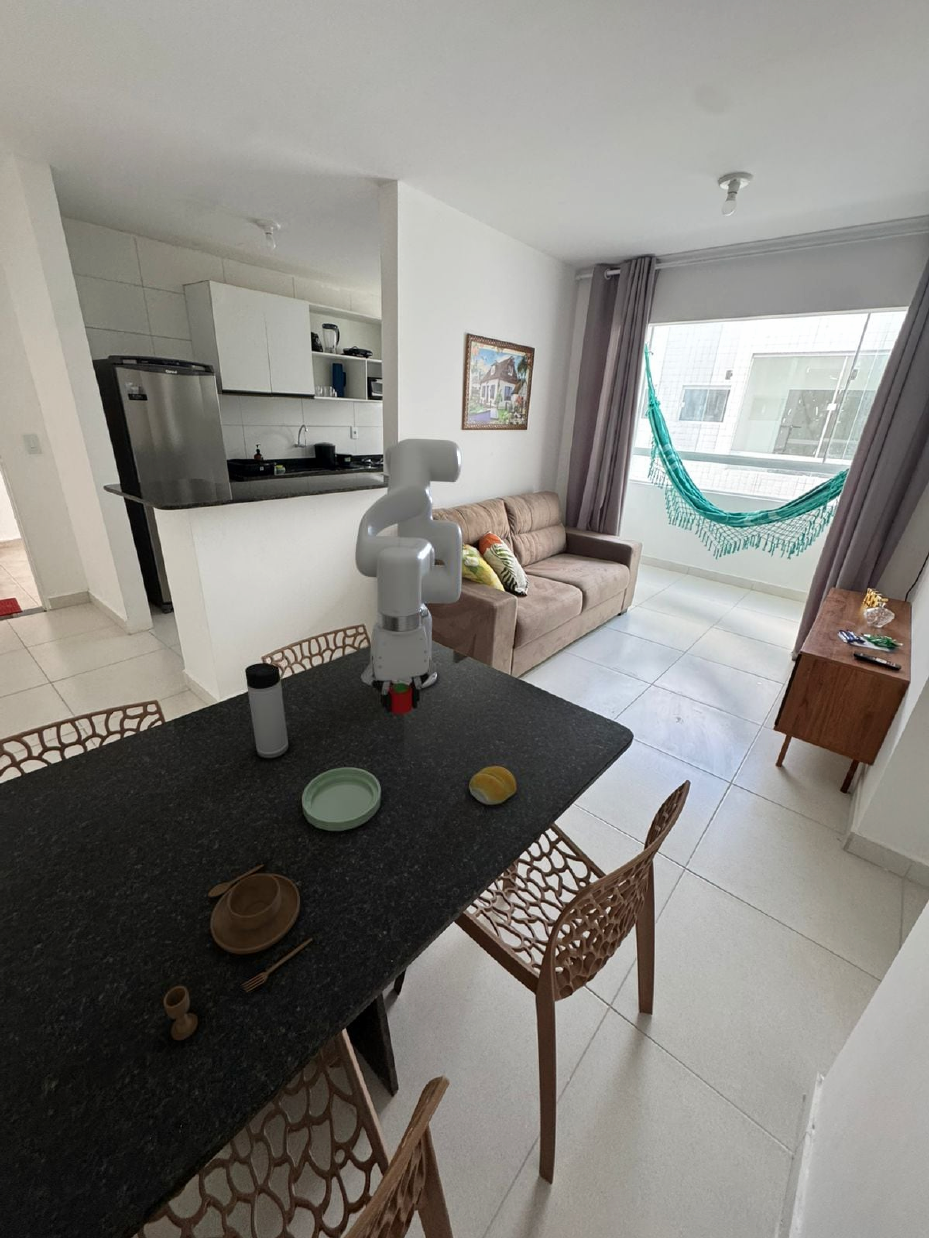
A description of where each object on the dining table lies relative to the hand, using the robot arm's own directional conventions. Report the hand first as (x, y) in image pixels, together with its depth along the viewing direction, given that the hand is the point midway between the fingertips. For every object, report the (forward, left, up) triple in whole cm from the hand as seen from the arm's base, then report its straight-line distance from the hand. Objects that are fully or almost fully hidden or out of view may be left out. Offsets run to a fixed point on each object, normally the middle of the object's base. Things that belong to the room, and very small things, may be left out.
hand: (400, 705), depth 97 cm
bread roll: (+10, +16, -16) cm, 25 cm away
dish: (+5, -12, -16) cm, 21 cm away
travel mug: (-15, -24, -16) cm, 32 cm away
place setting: (+26, -30, -16) cm, 43 cm away
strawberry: (0, 0, 0) cm, 0 cm away
